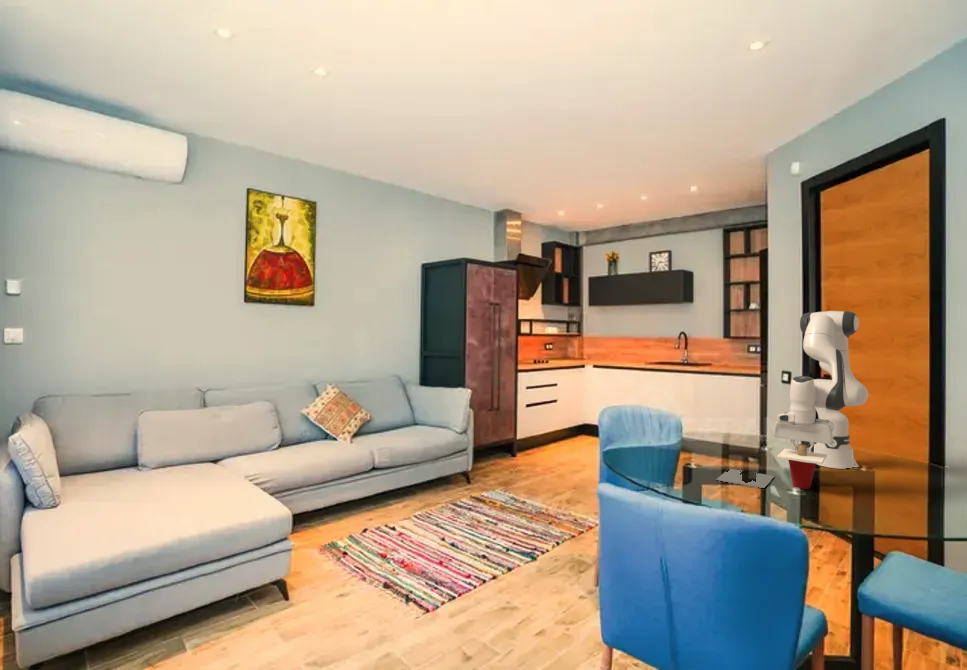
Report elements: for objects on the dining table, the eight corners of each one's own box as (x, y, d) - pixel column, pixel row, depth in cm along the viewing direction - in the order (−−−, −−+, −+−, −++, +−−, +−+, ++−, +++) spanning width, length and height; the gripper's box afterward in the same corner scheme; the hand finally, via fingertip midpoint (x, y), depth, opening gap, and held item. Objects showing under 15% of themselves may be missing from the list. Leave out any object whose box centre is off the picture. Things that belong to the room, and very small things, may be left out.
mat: (729, 469, 231) (729, 468, 231) (774, 477, 219) (774, 476, 219) (716, 480, 215) (716, 479, 215) (764, 489, 204) (764, 488, 204)
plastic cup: (823, 491, 200) (823, 461, 200) (792, 490, 202) (792, 460, 202) (811, 483, 211) (811, 454, 211) (782, 481, 213) (782, 453, 213)
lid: (784, 450, 217) (784, 439, 217) (827, 456, 207) (827, 444, 207) (777, 457, 205) (777, 445, 205) (821, 464, 196) (821, 451, 196)
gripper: (834, 419, 202) (834, 454, 202) (775, 413, 215) (775, 446, 215) (832, 421, 197) (832, 457, 197) (772, 415, 210) (772, 449, 210)
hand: (802, 451), depth 206 cm, fingers closed on lid, 3 cm apart
